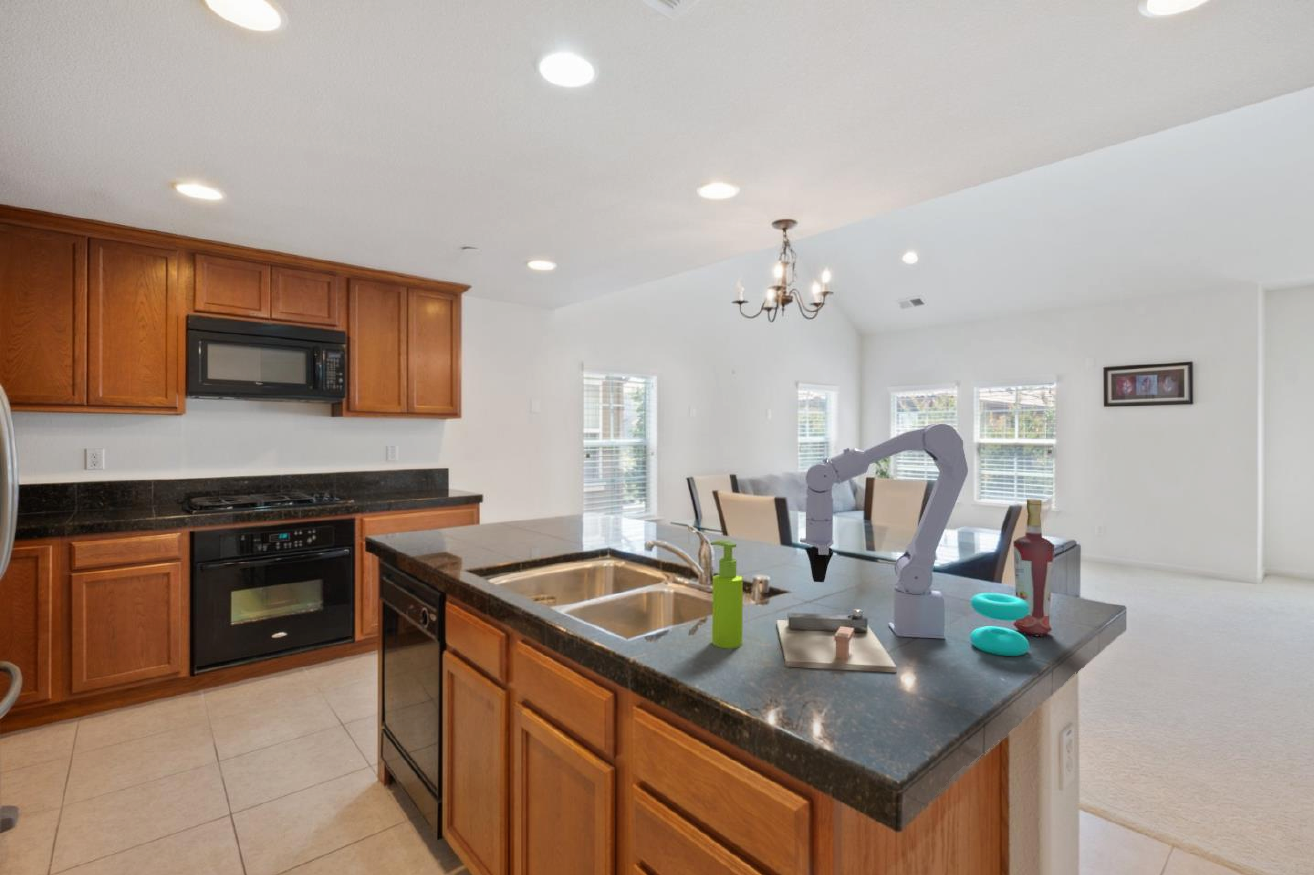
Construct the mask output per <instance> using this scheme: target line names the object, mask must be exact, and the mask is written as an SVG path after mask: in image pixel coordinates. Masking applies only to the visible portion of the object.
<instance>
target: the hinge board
mask: <svg viewBox="0 0 1314 875" xmlns="http://www.w3.org/2000/svg"><path fill="white" fill-rule="evenodd" d="M776 626H777V628H776V629H777V631H778V636H779V641H780V645H781V650H782V653H783V658H784V663H785V666H786V667H787V668H789V667H790V668H808V669H826V670H827V669H828V670H844V671H845V670H847V671H865V672H867V671H868V672H881V673H882V672H884V673H886V672H888V673H897V665H896V664H895V662H894V661H893V659H892V658H891V657H890V655H889V653H888V651H886V649H885V648H884V646H883V645H882V643H881V642H880V640H879V639H878V638H877V636H876V635H875V633H874V631H872V628H870V626H869V625H868V631H867V632H865V633H855V632H854V635H853V636H852V638H851V640H850V642H849V657H848V659H847V660H846V659H841V658H836V641H834V635H835V634H836V632H837V631H821V630H799V629H789V628H788V619H786V620H785V619H784V620H783V619H776Z"/></svg>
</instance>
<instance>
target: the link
mask: <svg viewBox="0 0 1314 875" xmlns="http://www.w3.org/2000/svg"><path fill="white" fill-rule="evenodd" d="M863 611H864V610H862V609H858V608H853V609H852V614H830V613H829V614H825V613H824V614H823V613H803V612H787V620H788V628H789V629H799V630H821V631H838V629H839V628H840V627H841V626H842V627H849V628H854V632H855V633H865V632H867V631H868V626H869V622H868V621H869V620H868V619H869V618H868V617H867V616H865V615H863Z"/></svg>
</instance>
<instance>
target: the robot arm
mask: <svg viewBox="0 0 1314 875" xmlns="http://www.w3.org/2000/svg"><path fill="white" fill-rule="evenodd" d="M842 451H843V452H842V453H839V454H837V455H835V456H832V457H830V458H828V457H826V458H823V459H822V462H823V463H816V464H813V465H812V466H810V467H809V468H808V470H807V472H806V475H805V482H806V484H807V487H806V498H805V537H801V538H799V541H800V543H802V544H807V545H808V546H809V545H810V546H812V547H805V548H804V549H805V552H806V554H807V557H808V561H809V565H810V569H811V576H812V580H813V582H814V583H824V582H825V580H826V575H827V570H828V566H829V563H830V561H831V559H832V557H833V556H834V551H833V549H832V548H831V546H833V544H834V539H833V538H834V535H833V533H834V528H833V527H834V520H833V519H834V518H833V517H834V498H833V497H832V494H833V492H832V491H833V486H834V484H838V485H839V484H841V483H844V482H846V481H849V480H851V479H853V478H856V477H859V476H861V475H863V474H866V473H867V472H868V470H869V468H870V465H871V464H873V463H876V462H879V461H882V460H884V459H887V458H889V457H893V456H894V455H895V456H896V455H897V454H900V453H902V452H905V451H918V452H925V453H926V454H927V455H928V456H930V458H931V459H932V460H933V462H934V465H935V466H936V468H937V470H938V471H939V473H938V476H937V479H936V481H935V484H934V485H933V488H932V491H931V493H930V496H929V498H928V501H927V503H926V505H925V507H924V510H923V513H922V515H921V518H920V520H919V523H918V524H917V527H916V530H915V533H914V534H913V537H912V540H911V541H910V542H909V544H908V545H907V546H906V549H905V551H904V553H903V554H902V555H901V556H899V557H898V558H897V559H896V561H895V563H894V572H895V574H896V576H897V577H898V578H899V579H898V580H897V582H896V583H895V584H894V593H893V594H894V600H893V602H894V604H893V608H894V609H893V611H894V612H893V613H894V614H893V622H888V624H887V625H888V626H889V627H890V629H891V630H892V631H893V632H894V633H895V635H896V637H901V638H927V639H946V635H945V623H946V622H945V621H946V620H945V619H946V618H945V612H946V611H945V610H946V607H945V599H944V596H943V594H942V592H941V591H939V590H933V589H932V587H931V586H932V584H933V581H934V580H933V579H934V575H933V569H934V566H935V563H936V551H937V549H938V547H939V544H940V542H941V539H942V537H943V534H944V532H945V530H946V528H947V524H948V522H949V520H950V517H951V515H952V513H953V510H954V508H955V505H956V503H957V500H958V498H959V496H960V493H961V490H962V488H963V486H964V483H965V482H966V480H967V477H968V473H969V468H968V463H967V458H966V454H965V450H964V440H963V439H962V437H961V436H960V434H959V433H958V432H957V430H956V429H955V428H954V427H953V426H952V425H949V424H947V423H931V424H930V423H929V424H928V425H926V426H924V427H918V428H914V429H912V430H907V431H905V432H902V433H900V434H898V435H895V436H893V437H891V438H889V439H887V440H884V441H882V442H880V443H878V444H876V445H873V446H872V447H870V448H868V449H865V450H861V449H859V448H857V447H856V448H855V447H853V448H851V449H850V448H849V447H847V448H844V449H842Z"/></svg>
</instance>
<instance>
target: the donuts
mask: <svg viewBox="0 0 1314 875" xmlns="http://www.w3.org/2000/svg"><path fill="white" fill-rule="evenodd" d="M970 605H971V607H972V609H973V610H974V611H975V612H977V614H979V615H981V616H984V617H986V618H989V619H993V620H998V621H1005V622H1006V621H1008V622H1009V621H1016V620H1019V619H1022V618H1024V617H1026V616H1027V615H1028V613H1029V611H1030V608H1029V605H1028V604H1027V603H1026V602H1025V601H1024V600H1023V599H1021V598H1018V597H1016V595H1010V594H1005V593H1000V592H981V593H980V592H979V593H976V594H975V595H974V596H972V598H971V599H970ZM969 639H970V642H971V643H972V645H973V646H974V647H976V648H977V649H979V651H980V650H981V651H982V652H985V653H988V654H993V655H998V656H1004V657H1019V656H1022V655H1025V654H1026V653H1027V652H1028V651H1029V649H1030V644H1029V641H1028V639H1027V638H1026V637H1025V636H1024V634H1023V633H1021V632H1019V631H1016V630H1013V629H1011V628H1007V627H1002V626H995V625H993V626H992V625H989V626H987V625H985V626H981V627H977V628H976V629H974V630H973V631H972V632H971V633H970V637H969Z"/></svg>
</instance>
